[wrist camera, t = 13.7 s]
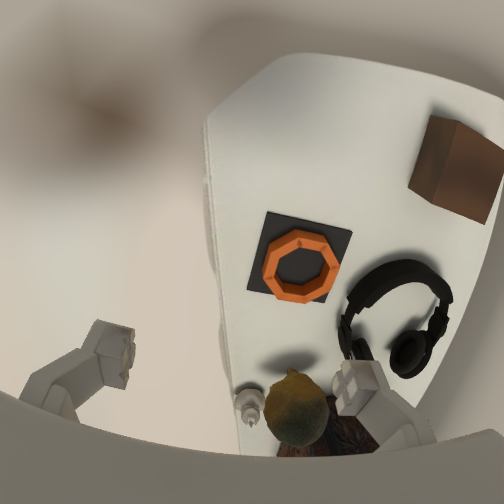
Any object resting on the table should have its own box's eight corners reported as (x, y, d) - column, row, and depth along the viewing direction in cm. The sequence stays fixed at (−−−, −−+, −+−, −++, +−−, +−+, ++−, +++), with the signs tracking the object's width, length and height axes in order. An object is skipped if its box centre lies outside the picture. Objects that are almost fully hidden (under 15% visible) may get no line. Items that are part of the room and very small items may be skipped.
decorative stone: (318, 352, 48) (336, 430, 34) (319, 375, 51) (334, 449, 37) (258, 361, 48) (262, 442, 35) (263, 384, 51) (268, 459, 38)
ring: (274, 224, 37) (276, 232, 35) (342, 239, 38) (347, 248, 36) (257, 285, 41) (257, 296, 39) (319, 296, 42) (323, 307, 40)
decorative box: (378, 380, 54) (278, 399, 52) (418, 464, 36) (302, 499, 34) (344, 447, 69) (270, 461, 66) (365, 509, 51) (284, 529, 49)
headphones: (338, 401, 42) (357, 283, 34) (327, 368, 49) (339, 257, 42) (436, 381, 42) (471, 272, 35) (418, 354, 49) (443, 251, 42)
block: (430, 115, 31) (458, 120, 26) (481, 143, 32) (509, 153, 27) (407, 187, 35) (431, 203, 30) (460, 208, 37) (484, 225, 31)
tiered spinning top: (266, 383, 51) (269, 420, 44) (262, 404, 54) (264, 439, 47) (235, 382, 51) (234, 420, 44) (233, 403, 54) (233, 438, 47)
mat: (267, 211, 37) (267, 213, 36) (351, 231, 38) (352, 232, 38) (246, 288, 42) (246, 290, 41) (323, 301, 43) (324, 303, 43)
